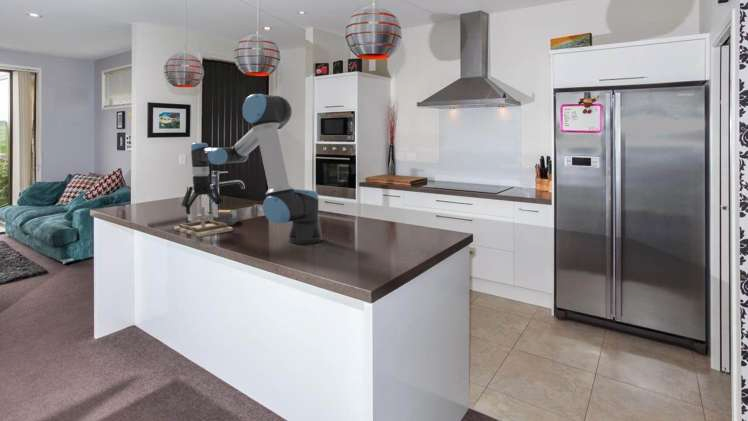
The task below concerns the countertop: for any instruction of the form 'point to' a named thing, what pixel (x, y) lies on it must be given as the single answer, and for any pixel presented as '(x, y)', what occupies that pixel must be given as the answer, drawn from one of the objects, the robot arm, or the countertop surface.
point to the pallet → (209, 228)
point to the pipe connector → (202, 217)
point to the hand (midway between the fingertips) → (203, 218)
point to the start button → (224, 211)
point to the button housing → (227, 217)
